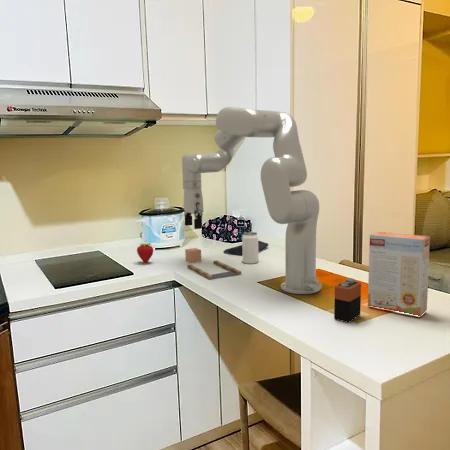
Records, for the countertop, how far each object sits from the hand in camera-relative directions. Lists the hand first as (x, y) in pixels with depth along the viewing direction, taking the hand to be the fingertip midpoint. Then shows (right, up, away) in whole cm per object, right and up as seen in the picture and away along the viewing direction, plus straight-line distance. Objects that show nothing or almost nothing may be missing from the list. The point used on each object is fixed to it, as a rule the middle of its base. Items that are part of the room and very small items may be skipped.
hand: (193, 226), depth 172 cm
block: (0, -15, +4) cm, 15 cm away
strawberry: (-20, -15, +3) cm, 25 cm away
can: (+23, -15, -1) cm, 28 cm away
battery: (+45, -24, -62) cm, 80 cm away
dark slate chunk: (+23, -12, +21) cm, 34 cm away
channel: (+9, -17, -13) cm, 23 cm away
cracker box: (+60, -23, -58) cm, 86 cm away
